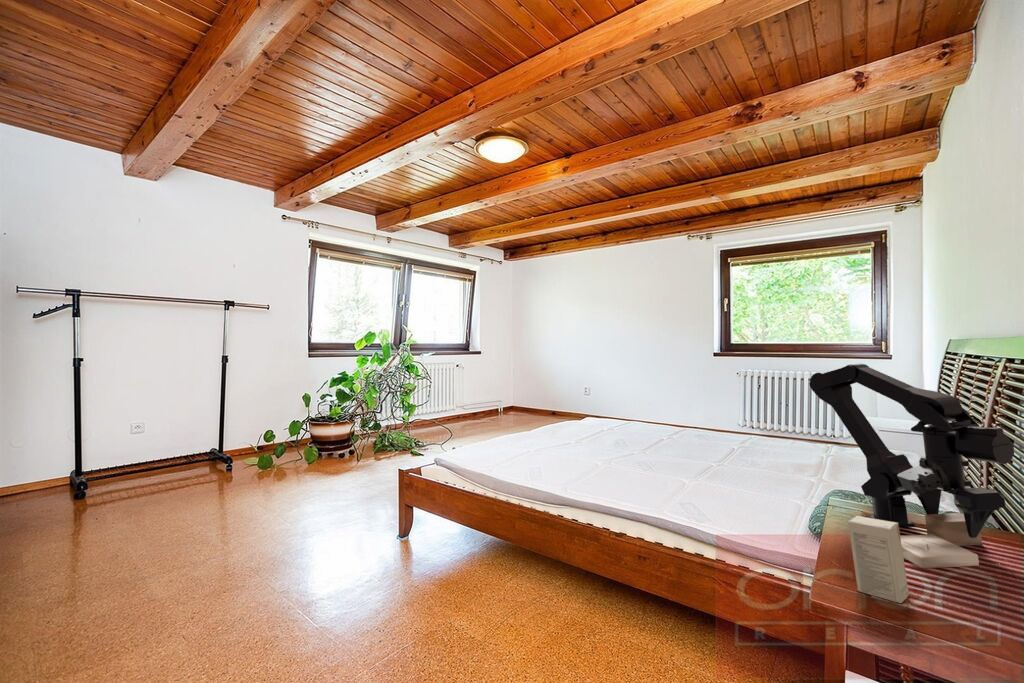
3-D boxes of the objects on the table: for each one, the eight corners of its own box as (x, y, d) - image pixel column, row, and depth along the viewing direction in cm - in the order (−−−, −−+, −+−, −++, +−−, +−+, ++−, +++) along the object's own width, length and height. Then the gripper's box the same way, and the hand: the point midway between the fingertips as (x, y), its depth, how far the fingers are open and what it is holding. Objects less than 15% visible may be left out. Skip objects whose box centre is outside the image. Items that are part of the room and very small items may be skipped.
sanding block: (927, 538, 97) (924, 514, 97) (962, 536, 97) (959, 513, 97) (946, 546, 93) (943, 522, 93) (982, 545, 92) (979, 520, 92)
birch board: (883, 546, 95) (881, 536, 95) (933, 543, 94) (931, 534, 94) (922, 568, 85) (921, 557, 85) (979, 565, 84) (977, 554, 84)
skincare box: (909, 595, 76) (901, 522, 77) (901, 605, 74) (892, 529, 74) (864, 582, 82) (856, 514, 82) (854, 590, 79) (847, 520, 80)
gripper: (871, 448, 105) (879, 515, 105) (941, 467, 87) (951, 549, 86) (921, 445, 105) (929, 513, 104) (1003, 463, 86) (1013, 546, 85)
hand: (952, 528), depth 95 cm, fingers open, 9 cm apart
